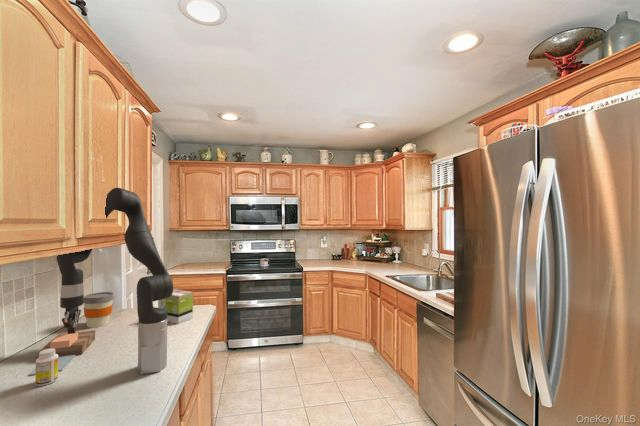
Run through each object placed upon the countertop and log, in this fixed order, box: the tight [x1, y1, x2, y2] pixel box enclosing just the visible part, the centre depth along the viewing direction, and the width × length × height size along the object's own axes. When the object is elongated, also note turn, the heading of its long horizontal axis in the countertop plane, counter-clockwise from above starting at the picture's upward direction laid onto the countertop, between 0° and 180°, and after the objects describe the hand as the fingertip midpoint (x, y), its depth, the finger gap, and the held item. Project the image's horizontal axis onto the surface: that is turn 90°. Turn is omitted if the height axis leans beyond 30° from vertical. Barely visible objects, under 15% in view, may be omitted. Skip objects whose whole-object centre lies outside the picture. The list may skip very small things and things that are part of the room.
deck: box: [39, 329, 96, 356], centre depth 123 cm, size 16×13×4 cm
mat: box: [28, 354, 77, 377], centre depth 110 cm, size 13×9×1 cm
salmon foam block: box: [49, 332, 78, 349], centre depth 119 cm, size 8×6×2 cm
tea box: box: [157, 288, 194, 325], centre depth 160 cm, size 15×10×15 cm
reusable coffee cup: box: [83, 291, 115, 329], centre depth 152 cm, size 13×13×15 cm
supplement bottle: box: [34, 349, 59, 387], centre depth 99 cm, size 6×6×10 cm
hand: (71, 336), depth 124 cm, fingers closed
